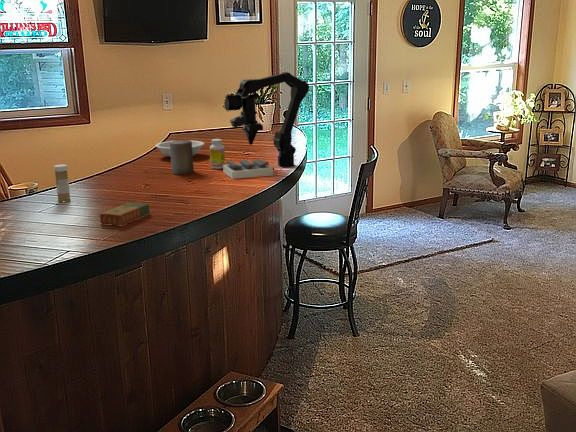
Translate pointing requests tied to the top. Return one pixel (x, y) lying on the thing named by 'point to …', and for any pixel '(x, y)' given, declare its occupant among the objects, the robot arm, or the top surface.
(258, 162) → the rocker
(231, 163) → the rocker
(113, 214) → the carton
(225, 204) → the top surface
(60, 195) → the sprinkles bottle
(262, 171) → the light switch panel
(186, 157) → the pillar candle
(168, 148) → the soup bowl
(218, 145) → the supplement bottle
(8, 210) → the top surface
